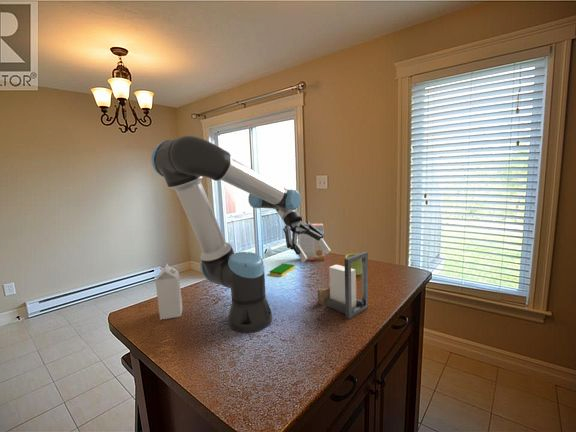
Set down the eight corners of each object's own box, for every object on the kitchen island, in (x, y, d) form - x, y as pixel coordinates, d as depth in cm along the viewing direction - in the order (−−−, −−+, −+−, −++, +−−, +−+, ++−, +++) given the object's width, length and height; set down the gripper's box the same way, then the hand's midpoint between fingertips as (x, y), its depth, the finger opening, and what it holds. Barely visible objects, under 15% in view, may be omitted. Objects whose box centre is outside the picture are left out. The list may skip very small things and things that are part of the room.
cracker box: (324, 257, 166) (323, 223, 163) (324, 260, 160) (323, 224, 157) (300, 258, 168) (299, 223, 165) (300, 261, 162) (298, 225, 159)
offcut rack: (349, 319, 96) (348, 259, 93) (323, 308, 104) (321, 253, 101) (368, 307, 103) (367, 252, 100) (342, 298, 112) (341, 247, 109)
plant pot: (369, 274, 136) (369, 257, 134) (353, 278, 132) (352, 260, 131) (357, 269, 144) (357, 252, 143) (342, 272, 141) (341, 255, 140)
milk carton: (160, 320, 101) (153, 270, 99) (163, 311, 108) (157, 264, 105) (180, 316, 103) (175, 267, 100) (182, 308, 110) (177, 261, 107)
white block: (349, 312, 100) (349, 272, 98) (330, 304, 107) (329, 267, 105) (356, 308, 103) (355, 269, 101) (336, 301, 109) (336, 264, 107)
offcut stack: (323, 305, 107) (323, 290, 106) (318, 303, 109) (317, 288, 108) (337, 298, 112) (336, 284, 111) (331, 296, 114) (330, 282, 113)
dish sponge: (294, 269, 151) (294, 264, 150) (281, 277, 139) (281, 273, 138) (283, 267, 154) (282, 263, 154) (269, 275, 142) (269, 271, 142)
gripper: (306, 217, 131) (332, 254, 122) (263, 225, 115) (289, 269, 106) (314, 206, 126) (342, 244, 117) (270, 214, 110) (299, 258, 101)
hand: (317, 256), depth 111 cm, fingers open, 13 cm apart
